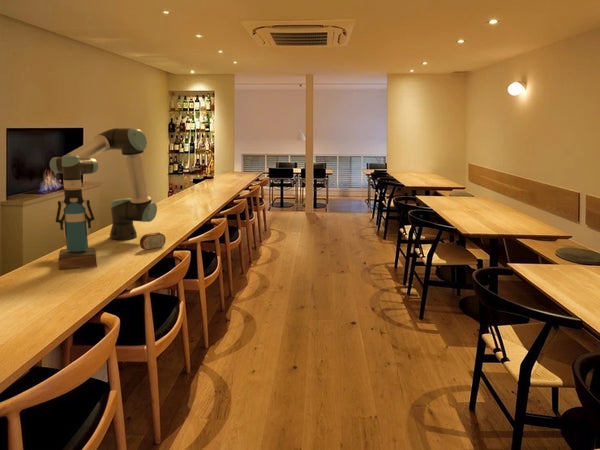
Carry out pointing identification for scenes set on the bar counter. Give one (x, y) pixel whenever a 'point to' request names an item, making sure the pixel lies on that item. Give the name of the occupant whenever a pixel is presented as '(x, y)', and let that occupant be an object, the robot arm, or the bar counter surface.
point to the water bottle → (75, 226)
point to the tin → (152, 241)
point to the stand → (77, 259)
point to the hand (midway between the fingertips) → (76, 235)
